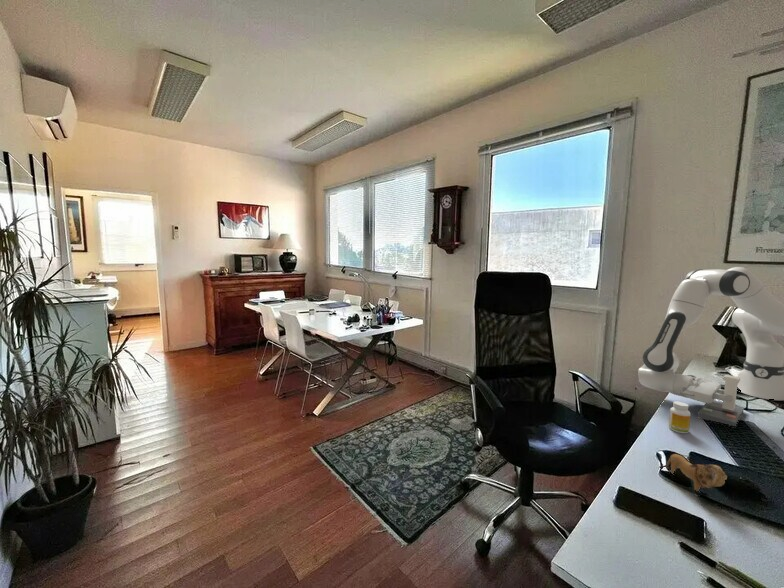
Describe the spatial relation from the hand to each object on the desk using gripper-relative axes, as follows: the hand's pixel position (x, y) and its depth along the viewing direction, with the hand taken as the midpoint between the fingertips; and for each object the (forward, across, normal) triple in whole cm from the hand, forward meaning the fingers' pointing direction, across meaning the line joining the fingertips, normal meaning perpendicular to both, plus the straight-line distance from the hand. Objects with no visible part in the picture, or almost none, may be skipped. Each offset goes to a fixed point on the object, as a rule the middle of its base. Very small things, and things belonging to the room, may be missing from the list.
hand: (733, 397), depth 125 cm
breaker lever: (-1, 0, +6) cm, 6 cm away
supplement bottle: (-10, -28, +8) cm, 31 cm away
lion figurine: (0, -63, +8) cm, 64 cm away
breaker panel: (-3, 0, +8) cm, 8 cm away
